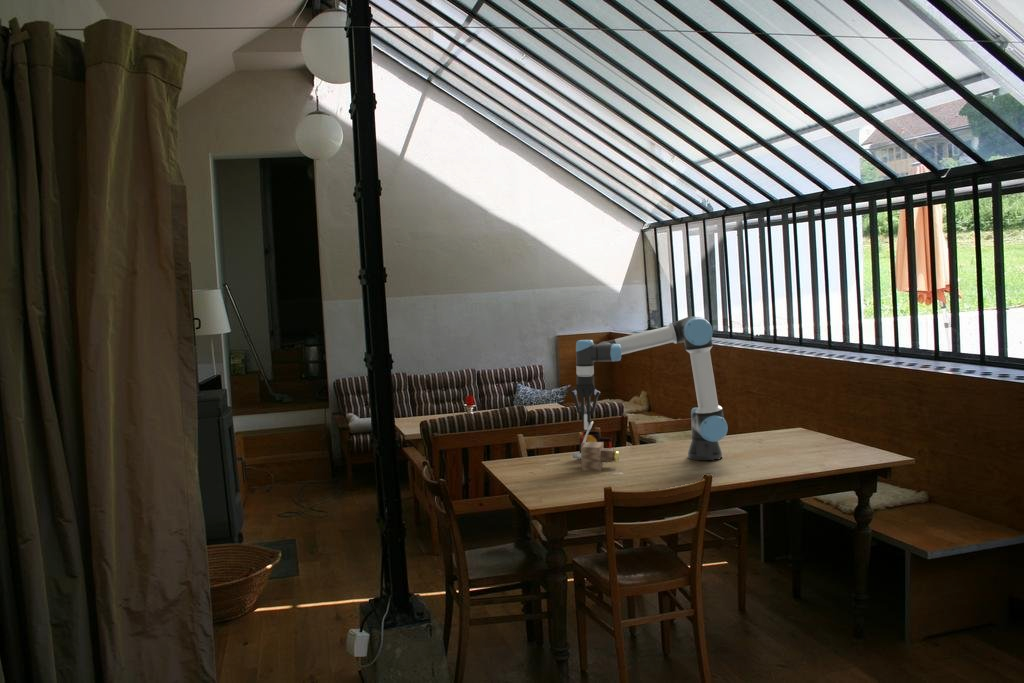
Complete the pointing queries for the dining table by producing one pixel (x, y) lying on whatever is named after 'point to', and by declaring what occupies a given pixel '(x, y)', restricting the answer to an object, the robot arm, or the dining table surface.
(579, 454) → the pin
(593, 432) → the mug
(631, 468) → the dining table surface
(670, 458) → the dining table surface
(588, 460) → the block
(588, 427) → the keeper flap
